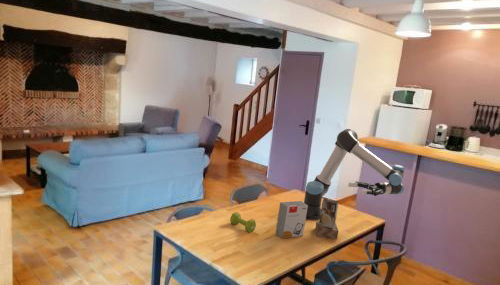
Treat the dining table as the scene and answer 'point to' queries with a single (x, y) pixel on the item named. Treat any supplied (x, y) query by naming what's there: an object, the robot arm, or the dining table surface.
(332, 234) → the walnut block
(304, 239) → the dining table surface
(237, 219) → the dumbbell
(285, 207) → the hard drive box
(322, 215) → the coffee box
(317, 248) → the dining table surface
